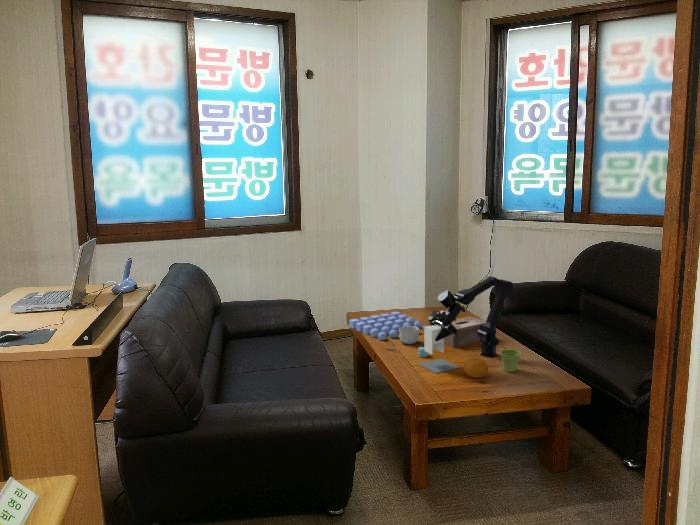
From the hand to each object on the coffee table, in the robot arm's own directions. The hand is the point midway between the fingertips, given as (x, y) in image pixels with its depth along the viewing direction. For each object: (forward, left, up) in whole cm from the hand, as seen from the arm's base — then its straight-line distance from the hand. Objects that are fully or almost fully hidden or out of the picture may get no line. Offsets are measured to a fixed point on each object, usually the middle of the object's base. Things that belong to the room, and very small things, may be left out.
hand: (431, 338), depth 279 cm
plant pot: (-31, -19, -14) cm, 39 cm away
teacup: (+31, -24, -14) cm, 41 cm away
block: (+12, -10, -14) cm, 20 cm away
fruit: (-23, -2, -14) cm, 27 cm away
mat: (-3, -2, -13) cm, 14 cm away
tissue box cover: (+11, -45, -14) cm, 48 cm away
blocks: (+54, -36, -14) cm, 67 cm away
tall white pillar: (-1, -1, -7) cm, 7 cm away
